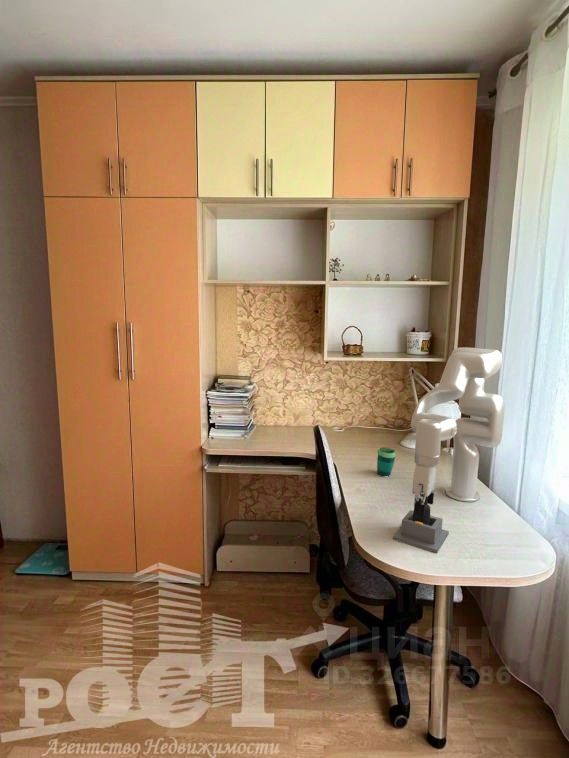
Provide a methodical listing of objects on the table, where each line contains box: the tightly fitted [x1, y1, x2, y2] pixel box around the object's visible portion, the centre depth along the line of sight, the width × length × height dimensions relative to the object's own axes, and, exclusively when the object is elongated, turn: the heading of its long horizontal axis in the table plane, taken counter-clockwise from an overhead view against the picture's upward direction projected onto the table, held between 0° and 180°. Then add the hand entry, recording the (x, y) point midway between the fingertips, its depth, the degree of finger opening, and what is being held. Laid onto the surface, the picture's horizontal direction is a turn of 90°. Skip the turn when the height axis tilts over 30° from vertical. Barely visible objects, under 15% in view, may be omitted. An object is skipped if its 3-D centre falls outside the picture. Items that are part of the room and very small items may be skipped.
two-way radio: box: [413, 496, 431, 525], centre depth 139 cm, size 6×4×15 cm
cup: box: [376, 446, 397, 477], centre depth 192 cm, size 8×8×12 cm
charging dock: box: [392, 509, 450, 554], centre depth 141 cm, size 14×14×6 cm
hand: (423, 509), depth 140 cm, fingers open, 9 cm apart
